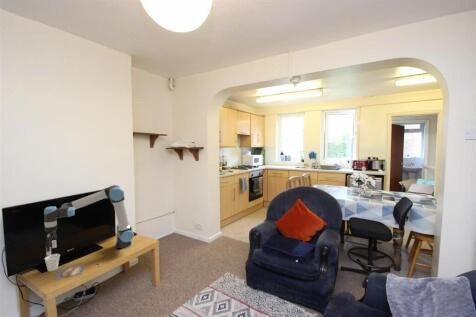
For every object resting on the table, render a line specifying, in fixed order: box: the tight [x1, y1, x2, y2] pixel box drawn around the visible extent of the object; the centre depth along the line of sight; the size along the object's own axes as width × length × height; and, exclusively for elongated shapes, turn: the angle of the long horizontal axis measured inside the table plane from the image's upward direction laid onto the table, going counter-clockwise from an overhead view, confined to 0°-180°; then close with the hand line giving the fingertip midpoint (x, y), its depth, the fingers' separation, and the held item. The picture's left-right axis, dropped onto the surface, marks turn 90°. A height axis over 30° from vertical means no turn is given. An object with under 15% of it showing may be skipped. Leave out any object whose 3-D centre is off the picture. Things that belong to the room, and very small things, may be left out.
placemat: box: [53, 264, 86, 281], centre depth 181 cm, size 18×16×1 cm
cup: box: [44, 253, 61, 272], centre depth 184 cm, size 10×10×11 cm
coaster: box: [61, 266, 81, 278], centre depth 180 cm, size 13×13×1 cm
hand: (51, 251), depth 183 cm, fingers open, 13 cm apart
